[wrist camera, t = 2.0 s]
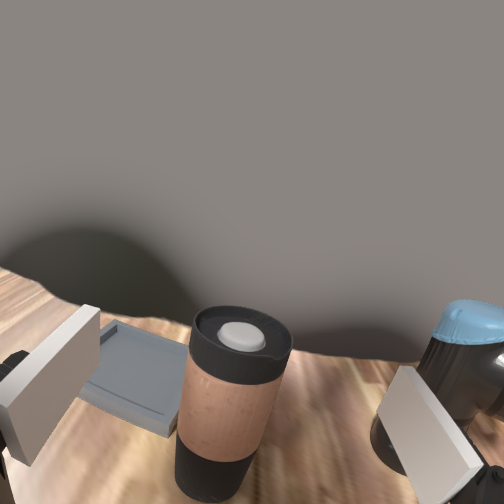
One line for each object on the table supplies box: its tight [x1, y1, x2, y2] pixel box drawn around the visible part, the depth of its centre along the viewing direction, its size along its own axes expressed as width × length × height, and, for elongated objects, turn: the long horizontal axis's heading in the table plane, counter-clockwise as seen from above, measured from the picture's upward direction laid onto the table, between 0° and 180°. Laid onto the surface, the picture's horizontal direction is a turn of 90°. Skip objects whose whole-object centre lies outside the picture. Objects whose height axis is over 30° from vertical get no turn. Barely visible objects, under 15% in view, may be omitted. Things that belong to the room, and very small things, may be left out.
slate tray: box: [77, 319, 189, 438], centre depth 41 cm, size 18×18×2 cm
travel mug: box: [175, 305, 293, 503], centre depth 25 cm, size 8×8×20 cm
